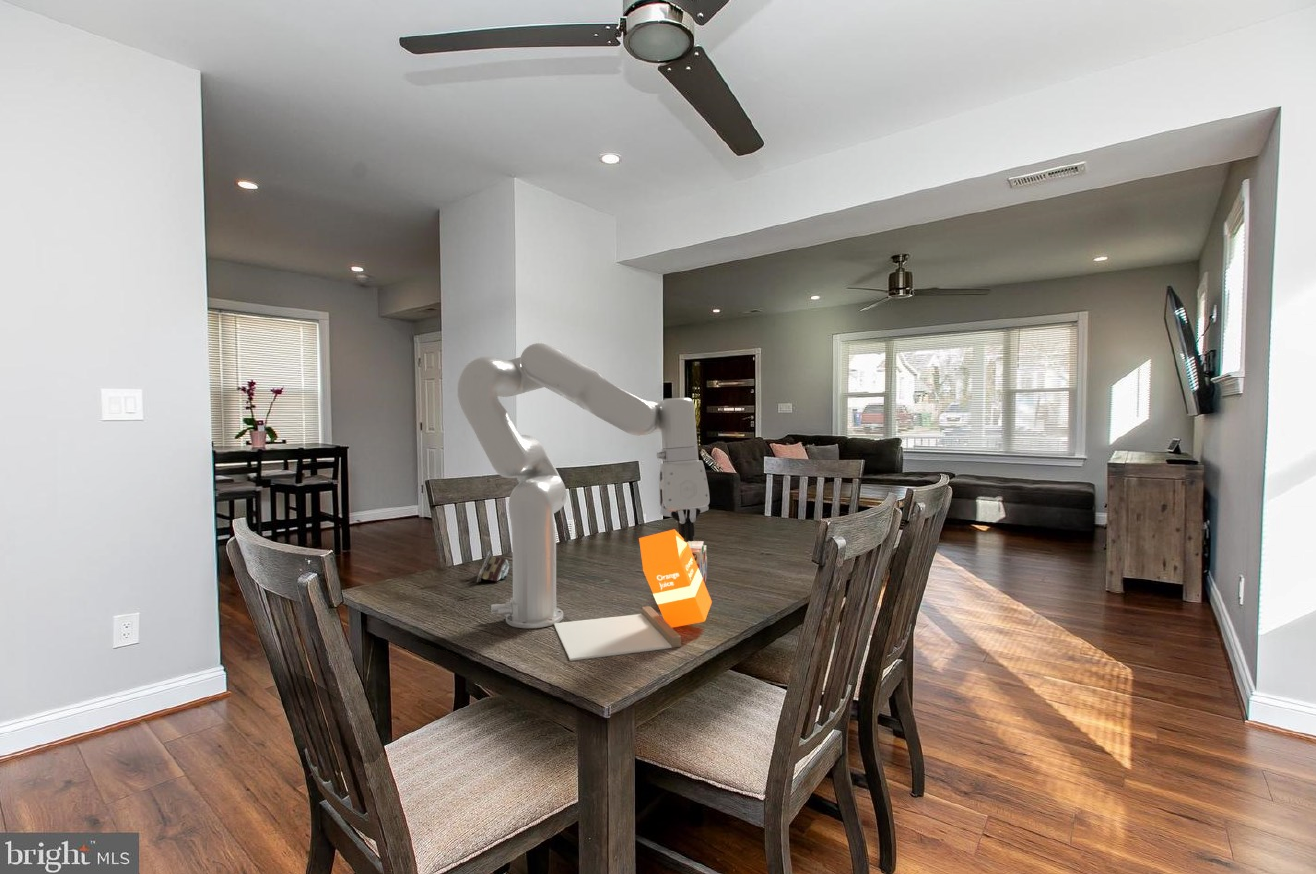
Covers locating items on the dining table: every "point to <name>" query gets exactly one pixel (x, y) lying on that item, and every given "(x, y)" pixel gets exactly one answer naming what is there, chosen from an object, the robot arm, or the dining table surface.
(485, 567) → the chocolate cake
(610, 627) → the mat
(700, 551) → the stack of blocks
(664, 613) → the orange juice
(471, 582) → the dining table surface
